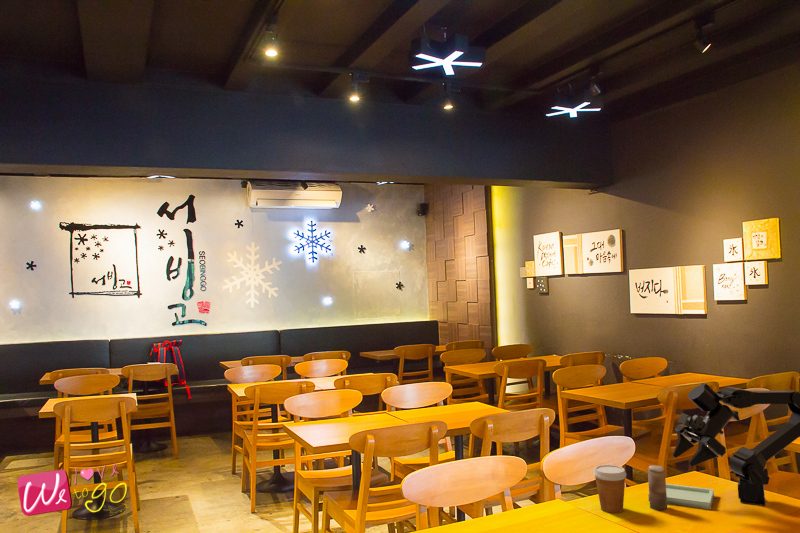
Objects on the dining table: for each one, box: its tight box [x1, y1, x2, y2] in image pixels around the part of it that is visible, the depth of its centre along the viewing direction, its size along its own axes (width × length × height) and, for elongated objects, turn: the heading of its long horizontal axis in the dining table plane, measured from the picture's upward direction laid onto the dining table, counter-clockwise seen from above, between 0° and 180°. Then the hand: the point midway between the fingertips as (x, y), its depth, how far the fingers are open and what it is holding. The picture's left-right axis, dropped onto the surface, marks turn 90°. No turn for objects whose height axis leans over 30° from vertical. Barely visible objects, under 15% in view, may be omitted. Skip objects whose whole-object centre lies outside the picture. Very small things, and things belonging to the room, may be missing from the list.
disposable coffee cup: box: [592, 464, 627, 514], centre depth 178 cm, size 10×10×12 cm
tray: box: [647, 483, 715, 511], centre depth 184 cm, size 17×13×2 cm
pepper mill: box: [647, 464, 668, 512], centre depth 178 cm, size 5×5×12 cm
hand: (681, 460), depth 179 cm, fingers open, 9 cm apart
